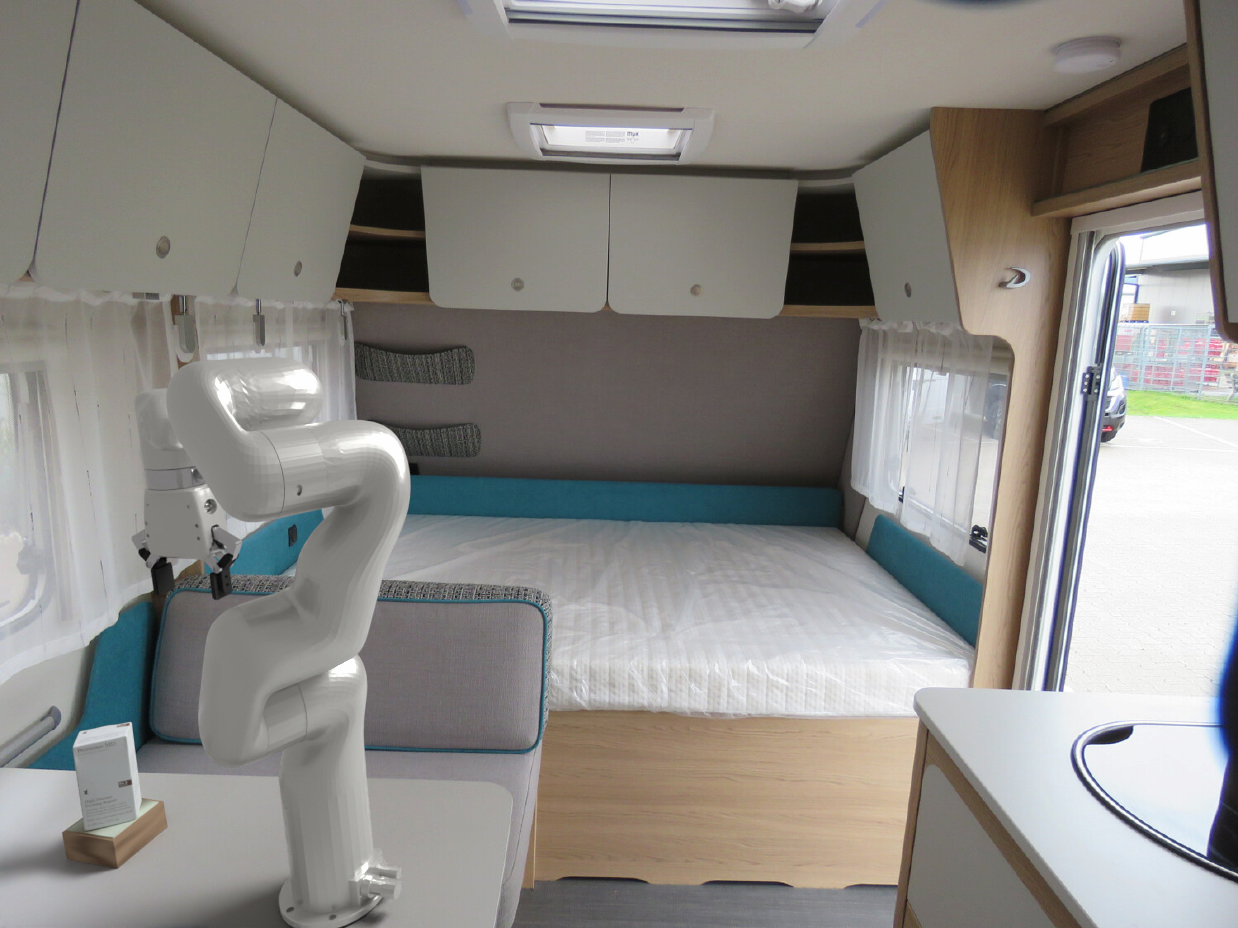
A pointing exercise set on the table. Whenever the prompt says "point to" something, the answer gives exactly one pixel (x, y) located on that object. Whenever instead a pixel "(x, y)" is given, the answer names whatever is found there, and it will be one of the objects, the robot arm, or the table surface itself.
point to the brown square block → (115, 837)
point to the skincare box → (107, 775)
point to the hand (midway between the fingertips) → (193, 594)
